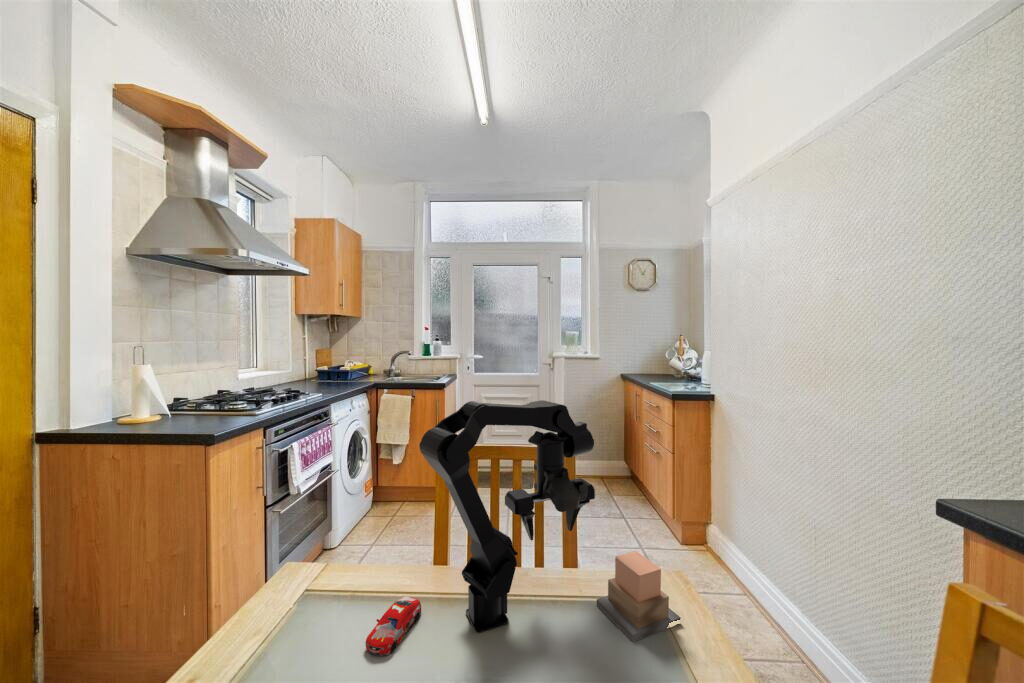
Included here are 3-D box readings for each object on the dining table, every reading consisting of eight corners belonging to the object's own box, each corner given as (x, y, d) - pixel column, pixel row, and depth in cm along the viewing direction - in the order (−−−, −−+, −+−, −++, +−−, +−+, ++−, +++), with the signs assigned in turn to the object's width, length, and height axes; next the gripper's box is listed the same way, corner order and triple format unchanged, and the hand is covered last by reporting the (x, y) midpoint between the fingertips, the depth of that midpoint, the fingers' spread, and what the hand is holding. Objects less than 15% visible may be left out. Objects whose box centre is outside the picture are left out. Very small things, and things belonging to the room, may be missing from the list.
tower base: (632, 641, 80) (632, 613, 80) (596, 605, 90) (596, 579, 90) (680, 623, 85) (681, 596, 84) (641, 590, 95) (641, 566, 94)
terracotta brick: (639, 602, 83) (639, 575, 82) (615, 581, 89) (615, 556, 89) (660, 594, 85) (660, 568, 84) (635, 575, 91) (635, 550, 91)
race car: (386, 663, 76) (385, 640, 76) (359, 655, 78) (358, 633, 78) (426, 613, 89) (426, 593, 88) (402, 607, 90) (402, 588, 90)
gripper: (527, 482, 84) (527, 564, 85) (611, 467, 91) (610, 543, 92) (503, 464, 94) (504, 537, 95) (580, 451, 101) (580, 520, 103)
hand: (550, 534), depth 96 cm, fingers open, 9 cm apart
